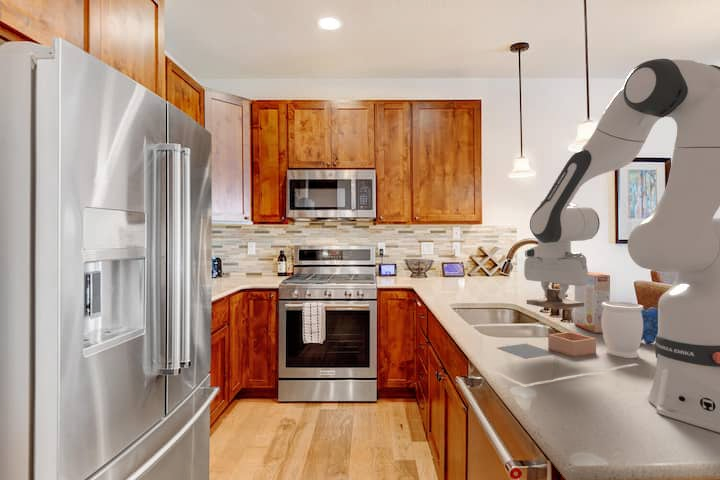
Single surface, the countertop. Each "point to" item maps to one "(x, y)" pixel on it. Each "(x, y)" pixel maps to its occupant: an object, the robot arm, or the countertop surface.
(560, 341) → the dish
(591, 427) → the countertop surface
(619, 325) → the jar
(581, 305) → the lid
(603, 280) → the cracker box
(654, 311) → the grapes
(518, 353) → the mat
